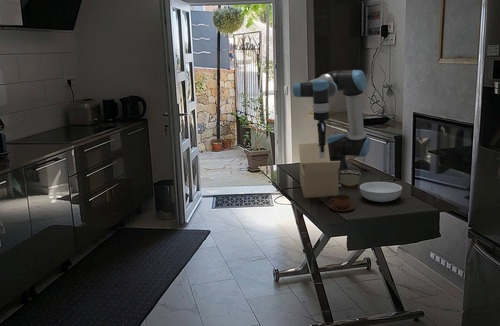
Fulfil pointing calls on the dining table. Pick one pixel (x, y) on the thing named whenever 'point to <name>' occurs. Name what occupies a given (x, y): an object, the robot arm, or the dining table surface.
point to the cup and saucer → (341, 203)
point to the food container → (349, 179)
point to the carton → (318, 184)
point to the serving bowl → (380, 191)
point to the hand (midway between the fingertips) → (322, 158)
